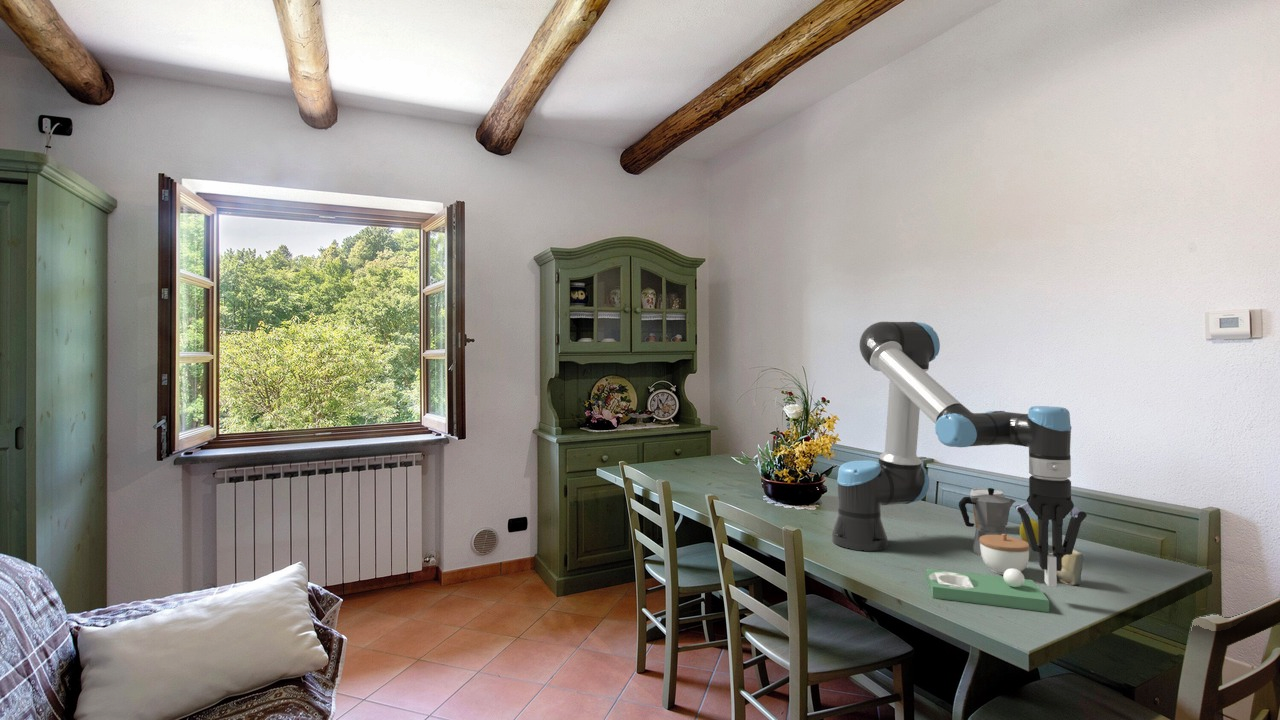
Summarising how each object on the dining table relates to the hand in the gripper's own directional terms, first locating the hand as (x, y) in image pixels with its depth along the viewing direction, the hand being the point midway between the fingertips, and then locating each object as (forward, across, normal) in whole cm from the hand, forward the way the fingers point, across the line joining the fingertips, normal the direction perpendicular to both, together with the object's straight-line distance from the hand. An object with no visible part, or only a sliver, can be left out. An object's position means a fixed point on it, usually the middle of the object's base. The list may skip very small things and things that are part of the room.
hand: (1050, 584), depth 126 cm
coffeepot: (+4, -6, +32) cm, 33 cm away
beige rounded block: (+4, +8, +15) cm, 18 cm away
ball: (-1, -7, 0) cm, 7 cm away
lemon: (+4, +7, +43) cm, 44 cm away
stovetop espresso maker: (+4, -1, +58) cm, 58 cm away
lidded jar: (+4, -5, +18) cm, 19 cm away
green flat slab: (+4, -13, 0) cm, 13 cm away
